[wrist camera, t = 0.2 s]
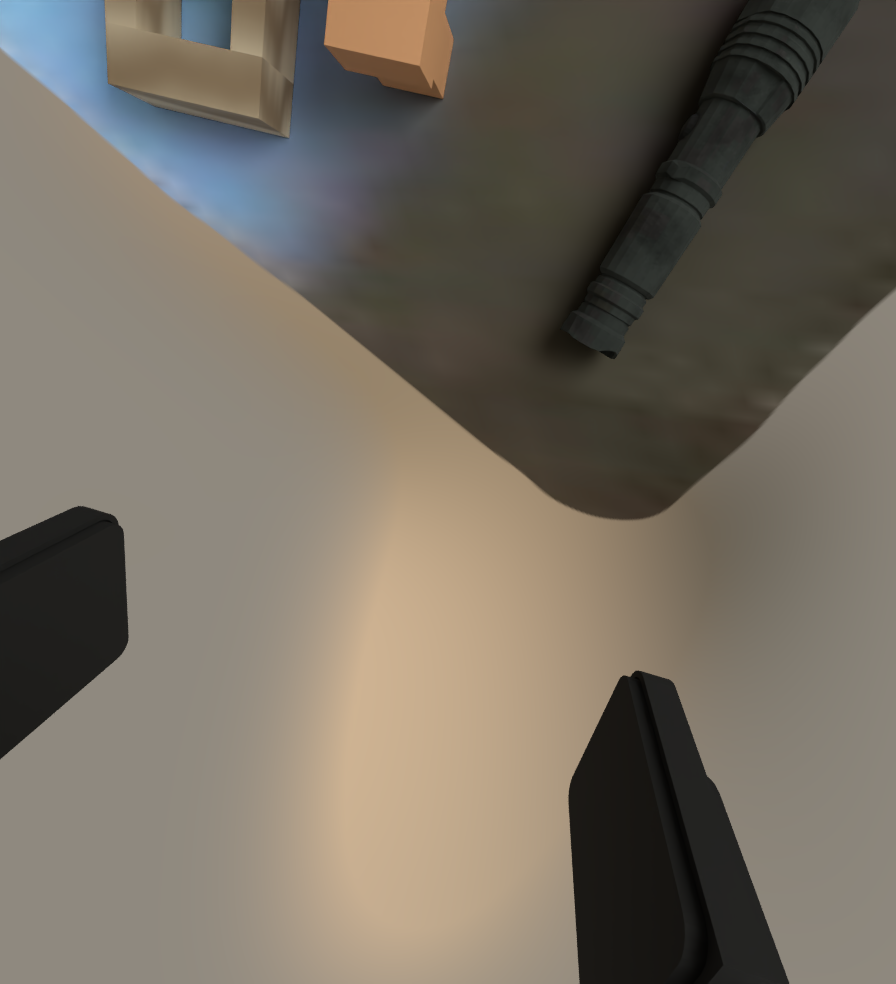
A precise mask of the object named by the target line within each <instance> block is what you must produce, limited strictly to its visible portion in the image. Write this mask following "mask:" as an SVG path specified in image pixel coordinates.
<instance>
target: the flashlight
mask: <svg viewBox="0 0 896 984" xmlns="http://www.w3.org/2000/svg"><path fill="white" fill-rule="evenodd" d="M859 1H860V0H749V1H748V3H747V4H746V6H745V8H744V9H743V11H742V13H741V14H740V16H739V18H738V19H737V22H736V24H735V25H734V26H733V28H732V29H731V32H730V34H729V35H728V36H727V38H726V40H725V42H724V45H723V46H722V47H721V48H720V50H719V52H718V55H717V56H716V57H715V59H714V61H713V62H712V65H711V68H710V71H711V73H710V76H709V78H708V80H707V83H706V85H705V87H704V90H703V92H702V95H701V97H700V100H699V102H698V103H699V109H698V111H697V112H696V114H694V115H692V116H691V117H690V118H689V119H688V120H687V121H686V123H685V124H684V126H683V127H682V129H681V131H680V134H679V137H678V139H679V142H678V144H677V146H676V147H675V149H674V151H673V152H672V154H671V156H670V157H669V159H668V161H666V162H663V163H662V164H661V166H660V167H659V169H658V171H657V172H656V176H655V177H656V181H655V182H654V184H653V186H652V187H651V189H650V193H646V194H643V195H642V197H641V199H640V200H639V202H638V204H637V205H636V207H635V209H634V210H633V212H632V214H631V215H630V217H629V219H628V220H627V222H626V224H625V225H624V227H623V229H622V230H621V232H620V234H619V235H618V237H617V239H616V240H615V242H614V244H613V245H612V247H611V249H610V250H609V252H608V254H607V255H606V257H605V259H604V260H603V262H602V264H601V265H600V271H601V273H602V274H601V275H599V276H598V277H597V279H596V280H595V281H592V282H591V283H590V285H589V287H588V288H587V291H588V294H587V295H586V297H585V299H584V300H585V301H584V302H582V304H581V305H580V307H579V309H578V310H575V311H571V313H570V314H569V316H568V317H567V319H566V320H565V322H564V323H563V325H562V327H561V328H560V329H561V330H563V331H566V332H568V333H569V334H570V335H571V336H572V337H573V338H574V339H576V340H578V341H579V342H581V343H583V344H584V345H586V346H588V347H589V348H592V349H595V350H597V351H599V352H601V353H603V354H604V355H606V356H607V357H609V358H611V359H615V358H616V356H617V355H618V353H619V352H620V350H621V348H622V347H623V345H624V343H625V341H624V337H623V336H624V335H625V333H626V332H627V330H628V326H631V324H632V323H633V321H634V320H637V319H639V317H640V316H641V314H642V313H643V309H642V308H643V306H644V305H645V303H646V301H645V300H646V299H651V298H653V297H654V296H655V294H656V293H657V291H658V290H659V288H660V287H661V285H662V284H663V282H664V281H665V280H666V278H667V277H668V275H669V274H670V272H671V271H672V269H673V268H674V266H675V265H676V263H677V262H678V260H679V259H680V257H681V256H682V254H683V253H684V251H685V250H686V248H687V247H688V245H689V244H690V242H691V241H692V239H693V238H694V236H695V235H696V233H697V232H698V230H699V229H700V227H701V222H700V220H701V219H702V218H703V216H704V215H705V213H706V212H707V210H708V209H709V208H713V207H714V206H715V204H716V203H717V201H718V200H719V198H720V197H721V195H722V191H721V189H722V188H723V186H724V185H725V183H726V182H727V180H728V179H729V177H730V176H731V174H732V173H733V171H734V170H735V168H736V167H737V165H738V164H739V162H740V161H741V159H742V158H743V156H744V154H745V153H746V151H747V150H748V148H749V147H750V145H751V144H752V142H753V141H754V139H755V138H757V137H759V136H762V135H763V134H764V133H765V132H766V131H767V130H768V129H769V127H770V126H771V125H772V124H773V123H774V122H775V121H776V120H777V118H778V117H779V116H780V115H781V114H782V113H783V112H784V111H785V110H787V109H789V108H790V107H791V106H792V104H793V103H794V102H795V100H796V99H797V97H798V96H799V94H800V93H801V92H802V90H803V89H804V87H805V86H806V84H807V83H808V81H809V80H810V79H811V77H812V75H813V74H814V73H815V71H816V70H817V68H818V67H819V65H820V64H821V62H822V61H823V59H824V58H825V56H826V55H827V53H828V52H829V50H830V49H831V47H832V46H833V44H834V43H835V41H836V40H837V39H838V37H839V36H840V34H841V33H842V31H843V30H844V28H845V27H846V25H847V24H848V22H849V21H850V19H851V18H852V16H853V15H854V13H855V12H856V10H857V9H858V3H859Z"/></svg>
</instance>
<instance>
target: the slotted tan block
mask: <svg viewBox="0 0 896 984" xmlns="http://www.w3.org/2000/svg"><path fill="white" fill-rule="evenodd" d="M299 11H300V0H232V19H231V45H230V50H228V49H224V48H219V47H215V46H210V45H206V44H201V43H197V42H193V41H188V40H184V39H181V0H105V22H106V47H107V72H108V84H110V85H112V86H114V87H116V88H119V89H121V90H123V91H125V92H127V93H129V94H131V95H133V96H135V97H137V98H139V99H141V100H143V101H145V102H147V103H149V104H151V105H153V106H155V107H160V108H164V109H168V110H172V111H177V112H181V113H185V114H189V115H193V116H198V117H202V118H206V119H210V120H215V121H219V122H223V123H227V124H232V125H236V126H240V127H244V128H249V129H253V130H257V131H261V132H266V133H270V134H274V135H278V136H282V137H287V138H289V133H290V121H291V109H292V97H293V84H294V72H295V60H296V48H297V35H298V23H299Z"/></svg>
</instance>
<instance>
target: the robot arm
mask: <svg viewBox="0 0 896 984" xmlns="http://www.w3.org/2000/svg"><path fill="white" fill-rule="evenodd" d="M127 643H128V616H127V595H126V572H125V551H124V533H123V529H122V528H121V526H119V525H118V521H117V519H116V518H115V517H114V516H113V515H111V514H108V513H104V512H101V511H97V510H94V509H91V508H87V507H83V506H82V507H81V506H78V507H74V508H72V509H69V510H67V511H65V512H63V513H60V514H59V515H56V516H54V517H52V518H49V519H47V520H45V521H43V522H41V523H38V524H36V525H34V526H32V527H29V528H27V529H25V530H23V531H21V532H18V533H16V534H14V535H12V536H10V537H7V538H5V539H3V540H1V541H0V759H1V758H2V757H3V756H4V755H6V754H7V753H8V752H9V751H10V750H12V749H13V748H14V747H15V746H16V745H17V744H18V743H20V742H21V741H22V740H23V739H24V738H25V737H27V736H28V735H29V734H30V733H31V732H33V731H34V730H35V729H36V728H37V727H38V726H39V725H41V724H42V723H43V722H44V721H45V720H46V719H48V718H49V717H50V716H51V715H52V714H53V713H55V712H56V711H57V710H58V709H59V708H60V707H62V706H63V705H64V704H65V703H66V702H67V701H68V700H70V699H71V698H72V697H73V696H74V695H75V694H77V693H78V692H79V691H80V690H81V689H82V688H84V687H85V686H86V685H87V684H88V683H90V682H91V681H92V680H93V679H94V678H95V677H96V676H98V675H99V674H100V673H101V672H102V671H104V670H105V668H107V667H108V666H109V665H110V664H112V663H113V662H114V661H115V660H116V659H117V658H118V657H119V656H120V655H121V654H122V653H123V651H124V650H125V648H126V645H127ZM569 817H570V834H571V849H572V867H573V883H574V899H575V914H576V931H577V947H578V963H579V978H580V979H579V980H580V984H789V981H788V979H787V976H786V973H785V970H784V968H783V965H782V963H781V960H780V957H779V954H778V951H777V949H776V946H775V943H774V940H773V938H772V935H771V932H770V930H769V927H768V924H767V921H766V919H765V916H764V913H763V911H762V908H761V905H760V902H759V900H758V897H757V894H756V892H755V889H754V886H753V883H752V881H751V878H750V875H749V873H748V870H747V867H746V864H745V861H744V859H743V856H742V853H741V851H740V848H739V845H738V842H737V840H736V837H735V834H734V832H733V829H732V826H731V823H730V821H729V818H728V815H727V813H726V810H725V807H724V804H723V802H722V799H721V796H720V794H719V792H718V790H717V788H716V786H715V784H714V783H713V782H712V780H711V779H710V778H708V777H707V775H706V772H705V770H704V767H703V764H702V761H701V758H700V755H699V753H698V750H697V747H696V744H695V742H694V739H693V735H692V733H691V730H690V727H689V724H688V721H687V719H686V716H685V713H684V710H683V708H682V704H681V702H680V699H679V696H678V693H677V690H676V688H675V685H674V683H673V682H672V681H671V680H669V679H665V678H662V677H658V676H655V675H652V674H648V673H645V672H642V671H635V672H634V673H633V674H632V676H631V677H628V676H622V677H621V678H620V679H619V681H618V683H617V685H616V687H615V690H614V691H613V694H612V696H611V698H610V700H609V702H608V704H607V706H606V708H605V710H604V712H603V715H602V716H601V719H600V721H599V723H598V725H597V727H596V729H595V731H594V733H593V735H592V737H591V739H590V741H589V744H588V746H587V748H586V750H585V752H584V754H583V756H582V758H581V760H580V762H579V765H578V767H577V769H576V771H575V773H574V775H573V777H572V780H571V783H570V788H569Z"/></svg>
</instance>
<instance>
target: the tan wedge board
mask: <svg viewBox="0 0 896 984" xmlns="http://www.w3.org/2000/svg"><path fill="white" fill-rule="evenodd" d="M446 3H447V0H328V10H327V20H326V30H325V40H324V45H325V46H326V48H327V49H328V50H329V51H330V52H331V54H332V55H333V56H334V57H335V58H336V59H337V61H338V62H339V63H340V64H341V65H342V66H343V68H344V69H345V70H347V71H352V72H356V73H361V74H365V75H370V76H374V77H377V78H378V79H379V81H380V82H381V83H382V85H383V86H387V87H392V88H396V89H401V90H405V91H410V92H414V93H418V94H423V95H427V96H432V97H436V98H441V99H443V96H444V90H445V85H446V79H447V74H448V68H449V63H450V57H451V52H452V46H453V41H454V39H453V36H452V33H451V30H450V27H449V24H448V21H447V18H446V15H445V9H446Z"/></svg>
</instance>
